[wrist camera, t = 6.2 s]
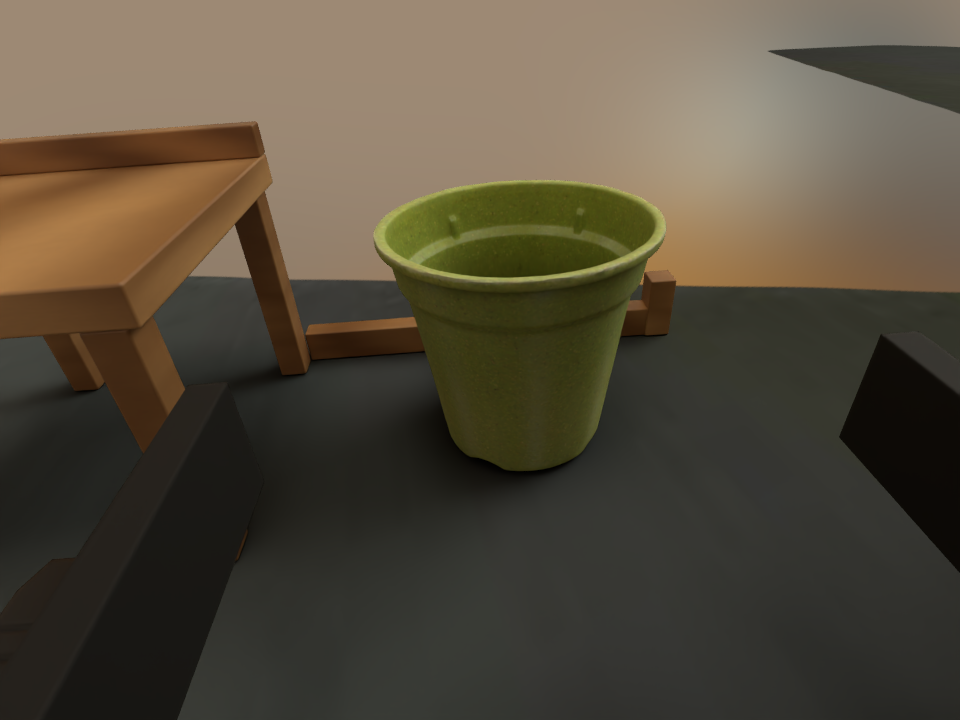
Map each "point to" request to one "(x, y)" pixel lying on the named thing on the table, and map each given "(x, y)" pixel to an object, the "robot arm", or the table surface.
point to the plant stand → (166, 258)
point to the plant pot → (521, 306)
